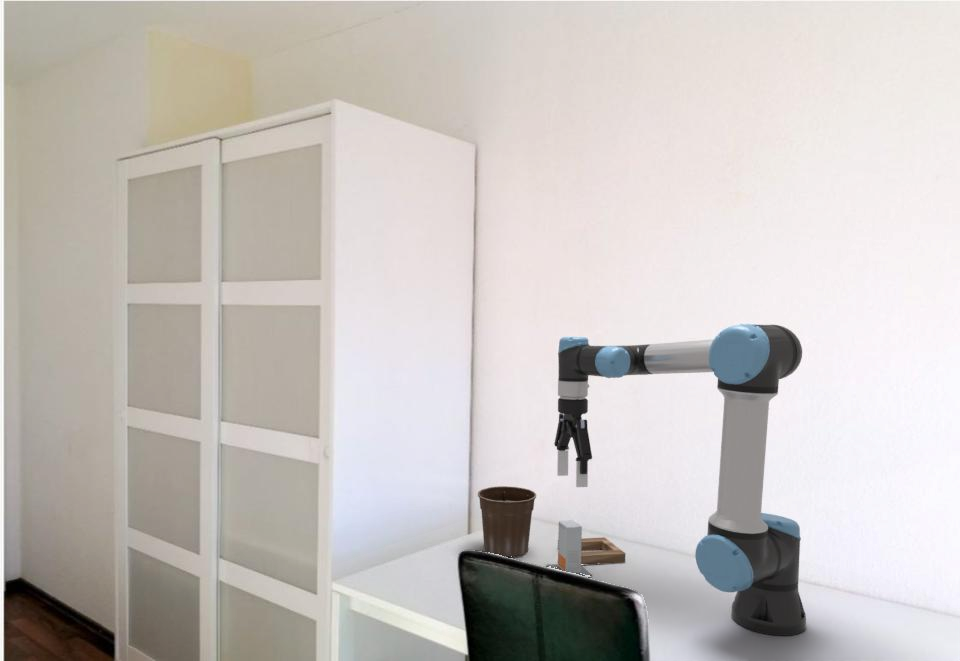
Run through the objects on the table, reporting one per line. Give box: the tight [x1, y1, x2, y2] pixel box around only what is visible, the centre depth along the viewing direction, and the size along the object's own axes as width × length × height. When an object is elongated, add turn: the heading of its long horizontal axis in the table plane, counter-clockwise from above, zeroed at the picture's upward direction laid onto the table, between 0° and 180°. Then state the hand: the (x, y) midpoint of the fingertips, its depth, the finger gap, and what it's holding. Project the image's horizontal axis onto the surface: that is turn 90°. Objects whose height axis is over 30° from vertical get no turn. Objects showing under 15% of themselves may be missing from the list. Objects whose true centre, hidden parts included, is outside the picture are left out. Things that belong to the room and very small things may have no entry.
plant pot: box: [477, 485, 537, 559], centre depth 204 cm, size 16×16×16 cm
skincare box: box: [557, 519, 583, 573], centre depth 189 cm, size 6×4×12 cm
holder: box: [581, 536, 626, 565], centre depth 202 cm, size 14×14×2 cm
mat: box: [545, 563, 593, 577], centre depth 189 cm, size 9×9×1 cm
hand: (571, 481), depth 188 cm, fingers open, 13 cm apart
